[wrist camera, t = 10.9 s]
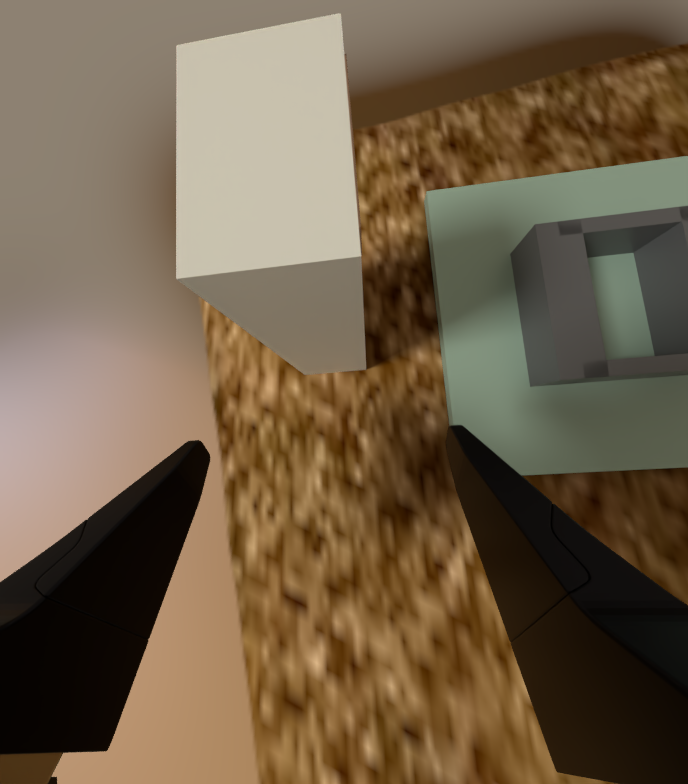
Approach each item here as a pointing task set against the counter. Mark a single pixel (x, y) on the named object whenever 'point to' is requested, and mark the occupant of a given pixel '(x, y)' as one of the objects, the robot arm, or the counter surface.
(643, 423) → the green socket board
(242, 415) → the counter surface
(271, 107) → the plug
